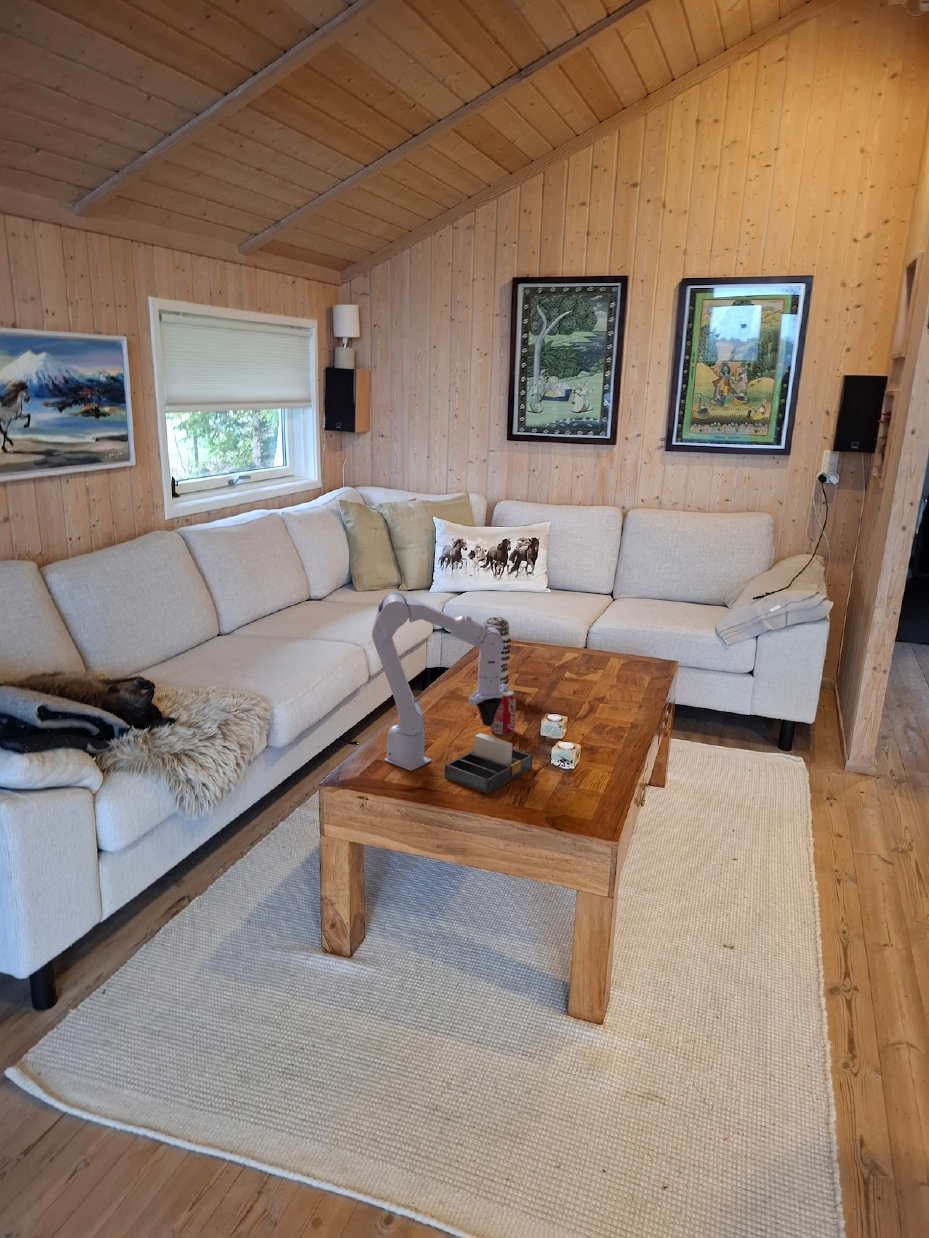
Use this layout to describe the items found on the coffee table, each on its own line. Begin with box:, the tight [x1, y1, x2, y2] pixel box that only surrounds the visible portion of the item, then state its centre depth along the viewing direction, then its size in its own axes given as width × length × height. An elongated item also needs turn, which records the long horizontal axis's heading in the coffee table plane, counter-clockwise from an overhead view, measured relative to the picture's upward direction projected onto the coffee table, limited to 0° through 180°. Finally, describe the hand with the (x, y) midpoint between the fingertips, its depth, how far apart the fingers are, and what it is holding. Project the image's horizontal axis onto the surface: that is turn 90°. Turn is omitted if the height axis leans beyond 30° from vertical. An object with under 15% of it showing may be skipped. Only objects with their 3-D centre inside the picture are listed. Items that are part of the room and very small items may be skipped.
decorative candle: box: [483, 616, 512, 686], centre depth 265 cm, size 9×9×25 cm
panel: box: [473, 732, 513, 767], centre depth 215 cm, size 10×2×7 cm, turn 52°
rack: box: [444, 748, 534, 795], centre depth 214 cm, size 13×19×4 cm
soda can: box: [489, 688, 517, 736], centre depth 238 cm, size 7×7×12 cm
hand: (487, 724), depth 219 cm, fingers closed
